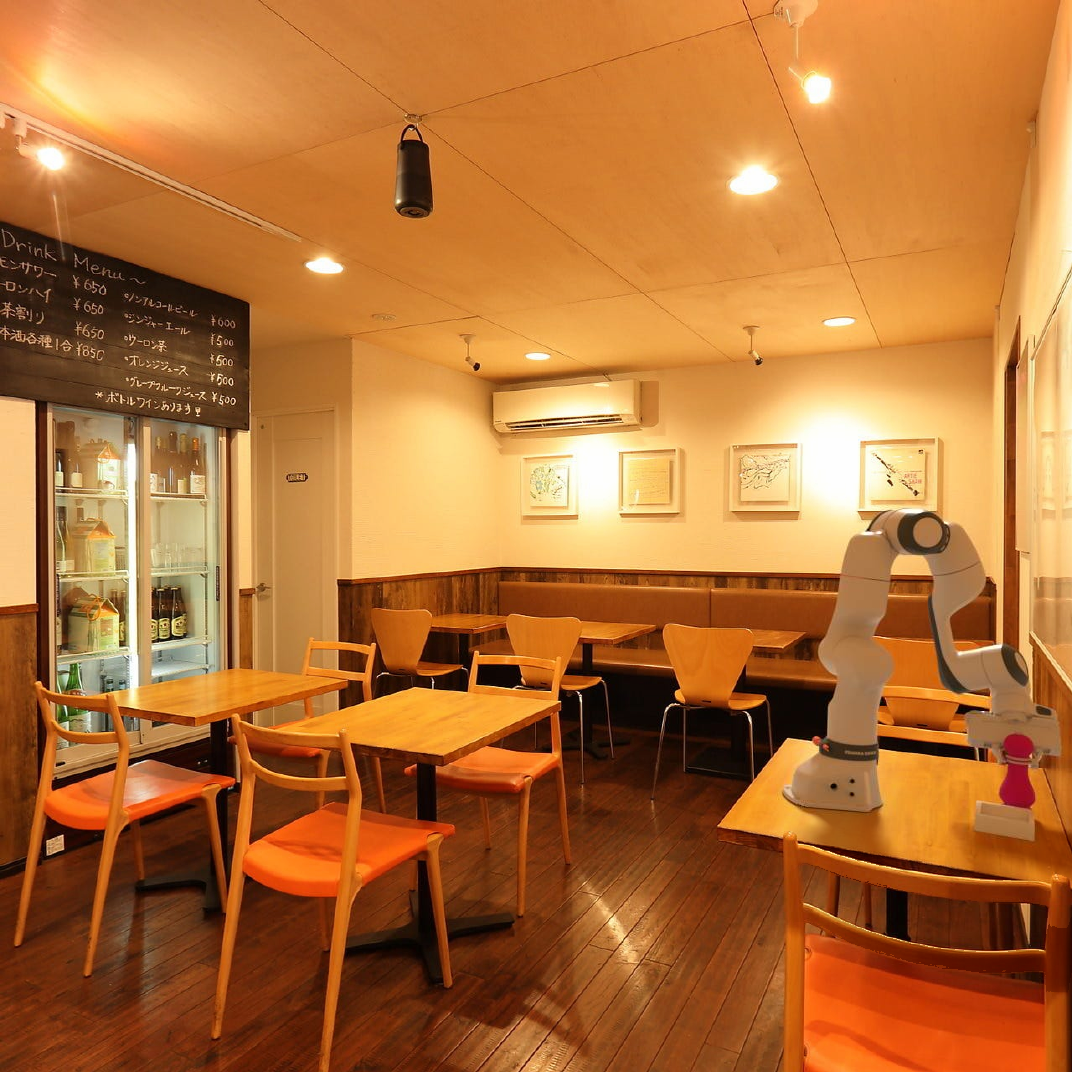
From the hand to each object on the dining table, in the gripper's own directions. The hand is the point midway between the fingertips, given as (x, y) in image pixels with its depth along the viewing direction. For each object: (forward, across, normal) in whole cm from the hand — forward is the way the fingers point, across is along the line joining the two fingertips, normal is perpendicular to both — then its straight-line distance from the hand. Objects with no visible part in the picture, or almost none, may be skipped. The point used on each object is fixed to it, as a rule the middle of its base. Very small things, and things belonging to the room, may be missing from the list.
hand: (1018, 765), depth 186 cm
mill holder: (+16, -4, 0) cm, 16 cm away
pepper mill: (+8, 0, +9) cm, 12 cm away
